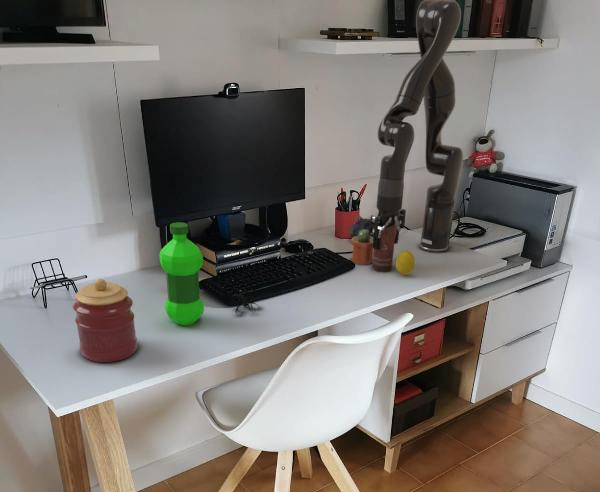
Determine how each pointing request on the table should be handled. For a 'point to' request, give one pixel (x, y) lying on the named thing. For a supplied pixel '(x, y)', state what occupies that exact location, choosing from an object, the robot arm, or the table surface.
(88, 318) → the kitchen canister
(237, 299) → the creature
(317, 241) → the table surface
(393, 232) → the can
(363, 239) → the plant pot
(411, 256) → the lemon
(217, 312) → the table surface
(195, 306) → the plastic bottle
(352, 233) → the frog
